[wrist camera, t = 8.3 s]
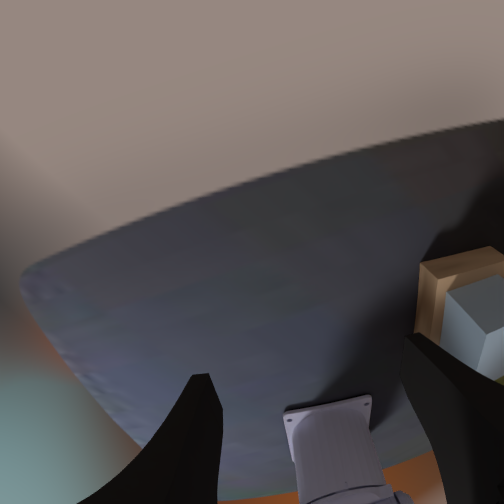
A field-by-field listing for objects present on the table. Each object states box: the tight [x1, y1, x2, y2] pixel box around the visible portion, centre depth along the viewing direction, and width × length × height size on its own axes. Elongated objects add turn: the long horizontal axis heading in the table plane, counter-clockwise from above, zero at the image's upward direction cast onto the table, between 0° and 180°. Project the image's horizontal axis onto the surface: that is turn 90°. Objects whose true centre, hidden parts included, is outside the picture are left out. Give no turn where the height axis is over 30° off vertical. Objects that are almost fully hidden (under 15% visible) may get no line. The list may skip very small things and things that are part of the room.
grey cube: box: [439, 274, 504, 380], centre depth 16 cm, size 5×5×5 cm
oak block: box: [414, 246, 504, 346], centre depth 20 cm, size 7×7×3 cm
